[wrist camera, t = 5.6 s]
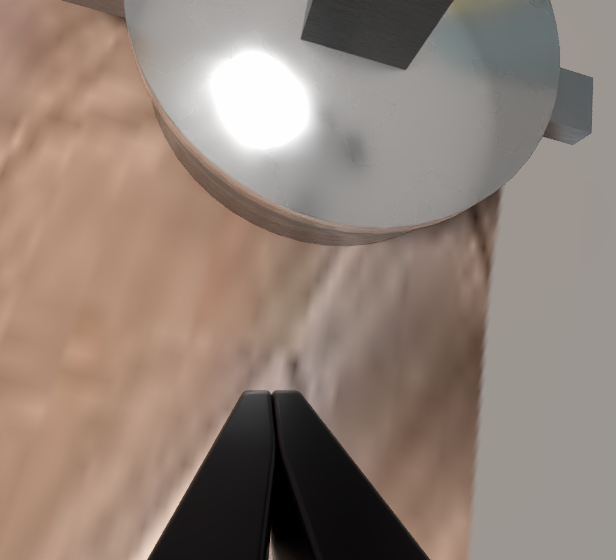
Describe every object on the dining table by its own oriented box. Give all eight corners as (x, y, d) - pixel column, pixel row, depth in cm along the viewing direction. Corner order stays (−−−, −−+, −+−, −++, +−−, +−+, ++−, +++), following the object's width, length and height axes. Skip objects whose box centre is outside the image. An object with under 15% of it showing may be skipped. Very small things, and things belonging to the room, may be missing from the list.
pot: (537, 293, 21) (592, 278, 18) (18, 178, 17) (-17, 137, 14) (553, 2, 24) (602, -50, 21) (119, -144, 20) (107, -231, 18)
